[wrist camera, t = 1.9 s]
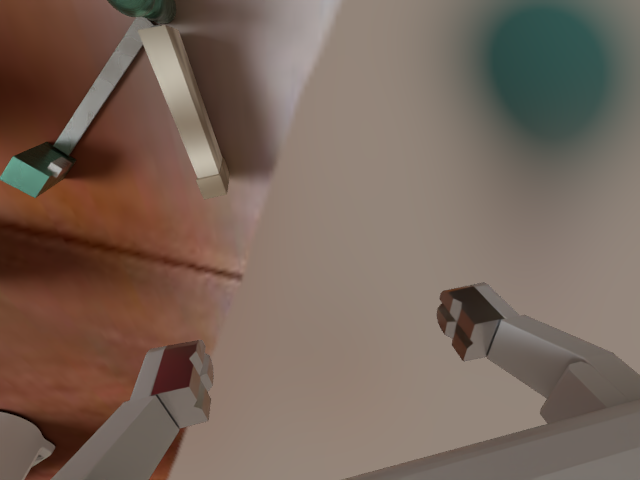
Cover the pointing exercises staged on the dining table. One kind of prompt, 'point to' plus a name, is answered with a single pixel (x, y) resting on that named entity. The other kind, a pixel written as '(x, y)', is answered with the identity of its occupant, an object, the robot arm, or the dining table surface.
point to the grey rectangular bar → (186, 107)
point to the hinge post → (147, 9)
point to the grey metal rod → (103, 86)
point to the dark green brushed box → (37, 169)
